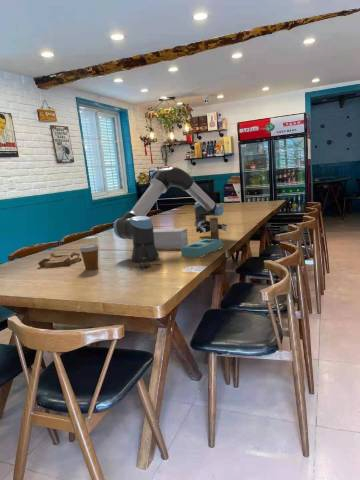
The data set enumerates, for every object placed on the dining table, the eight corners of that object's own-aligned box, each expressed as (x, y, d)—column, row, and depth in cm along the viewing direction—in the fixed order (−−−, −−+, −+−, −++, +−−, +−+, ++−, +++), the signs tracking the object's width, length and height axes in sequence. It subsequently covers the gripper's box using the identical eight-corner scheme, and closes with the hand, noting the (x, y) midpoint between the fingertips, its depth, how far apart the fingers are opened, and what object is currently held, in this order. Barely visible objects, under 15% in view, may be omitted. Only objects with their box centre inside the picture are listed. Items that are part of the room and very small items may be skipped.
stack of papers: (188, 244, 222) (186, 228, 220) (182, 248, 212) (181, 231, 210) (143, 245, 233) (141, 229, 231) (136, 248, 224) (134, 232, 222)
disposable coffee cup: (82, 267, 184) (79, 245, 182) (100, 265, 187) (97, 243, 185) (82, 272, 175) (79, 248, 173) (101, 269, 178) (98, 246, 176)
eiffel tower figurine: (162, 264, 178) (159, 239, 176) (158, 270, 169) (155, 243, 166) (134, 266, 181) (131, 241, 178) (128, 271, 171) (125, 245, 168)
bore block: (199, 257, 184) (198, 248, 183) (181, 256, 191) (180, 247, 190) (222, 248, 203) (221, 239, 202) (205, 246, 210) (204, 238, 209)
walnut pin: (216, 244, 214) (214, 218, 211) (209, 244, 217) (207, 218, 214) (220, 243, 217) (219, 217, 215) (213, 242, 220) (212, 217, 218)
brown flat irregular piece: (29, 267, 197) (27, 259, 196) (61, 257, 217) (60, 249, 217) (59, 269, 186) (58, 260, 185) (90, 258, 206) (88, 250, 205)
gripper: (223, 229, 238) (234, 233, 217) (187, 233, 233) (196, 238, 212) (222, 218, 236) (234, 221, 216) (187, 222, 231) (195, 226, 211)
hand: (215, 230), depth 214 cm, fingers open, 13 cm apart
